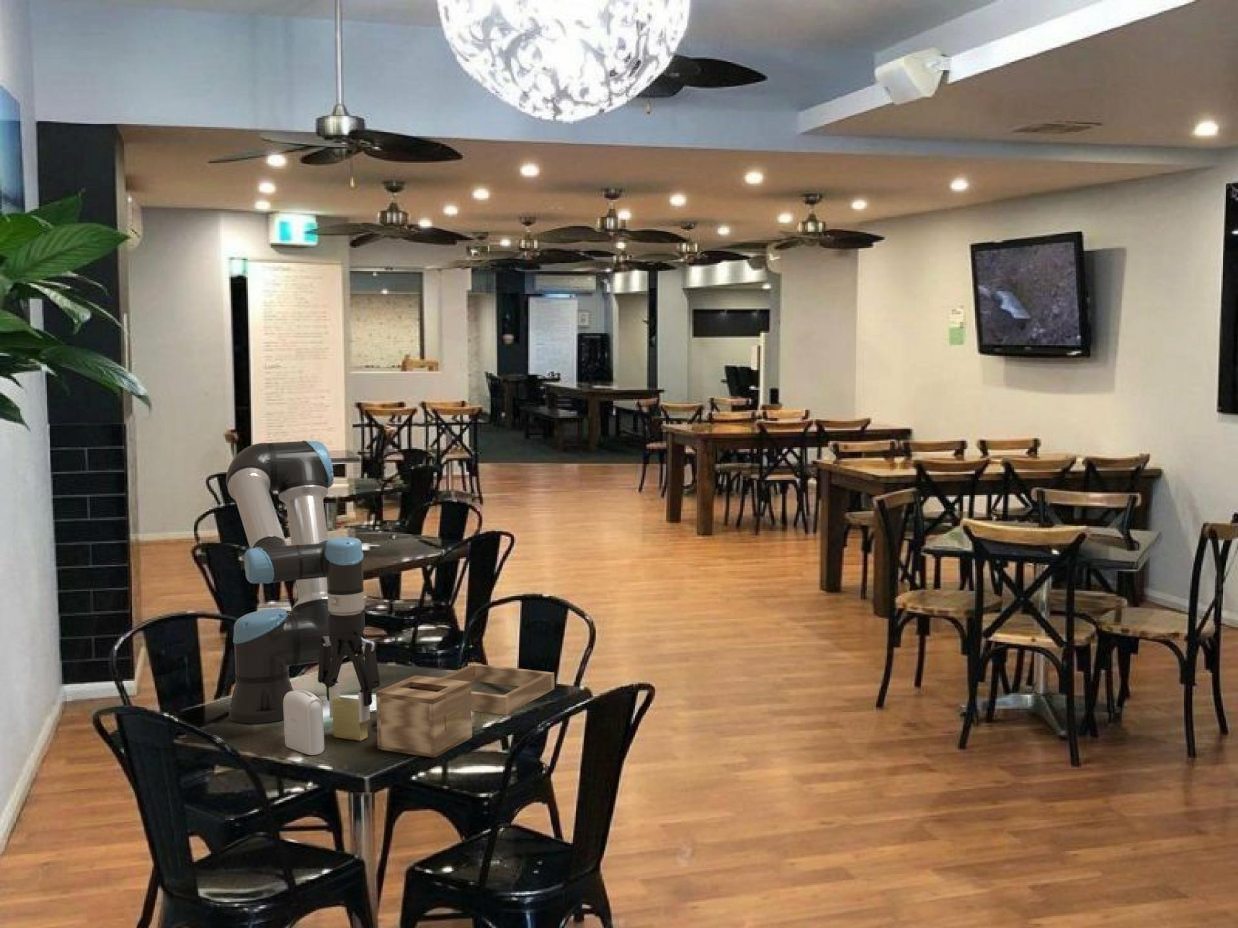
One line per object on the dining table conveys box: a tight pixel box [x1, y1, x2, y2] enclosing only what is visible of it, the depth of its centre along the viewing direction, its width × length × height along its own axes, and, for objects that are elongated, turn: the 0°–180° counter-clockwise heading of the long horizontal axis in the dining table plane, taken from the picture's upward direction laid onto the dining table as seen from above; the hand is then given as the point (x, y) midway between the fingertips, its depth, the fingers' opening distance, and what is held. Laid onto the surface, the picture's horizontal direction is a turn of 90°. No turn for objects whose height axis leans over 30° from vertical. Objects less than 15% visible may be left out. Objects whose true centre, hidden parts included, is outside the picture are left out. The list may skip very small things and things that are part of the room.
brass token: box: [332, 696, 368, 742], centre depth 253 cm, size 7×2×8 cm, turn 65°
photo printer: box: [283, 689, 325, 756], centre depth 245 cm, size 10×4×12 cm, turn 47°
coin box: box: [375, 674, 473, 759], centre depth 248 cm, size 14×14×12 cm
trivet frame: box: [441, 663, 555, 716], centre depth 283 cm, size 23×23×4 cm
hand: (349, 717), depth 253 cm, fingers closed on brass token, 7 cm apart
